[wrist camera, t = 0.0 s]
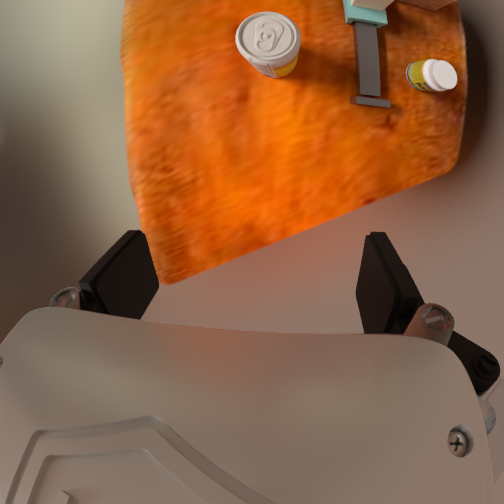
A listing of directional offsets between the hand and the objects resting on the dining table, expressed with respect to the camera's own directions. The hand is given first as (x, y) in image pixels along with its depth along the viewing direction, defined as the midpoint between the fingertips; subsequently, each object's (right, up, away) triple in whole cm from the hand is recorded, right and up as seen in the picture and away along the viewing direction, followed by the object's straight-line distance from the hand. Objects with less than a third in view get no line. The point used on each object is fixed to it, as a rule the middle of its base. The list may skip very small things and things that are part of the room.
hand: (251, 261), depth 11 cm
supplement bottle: (+25, +27, +17) cm, 40 cm away
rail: (+16, +32, +15) cm, 39 cm away
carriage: (+16, +36, +13) cm, 41 cm away
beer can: (+3, +27, +20) cm, 34 cm away
